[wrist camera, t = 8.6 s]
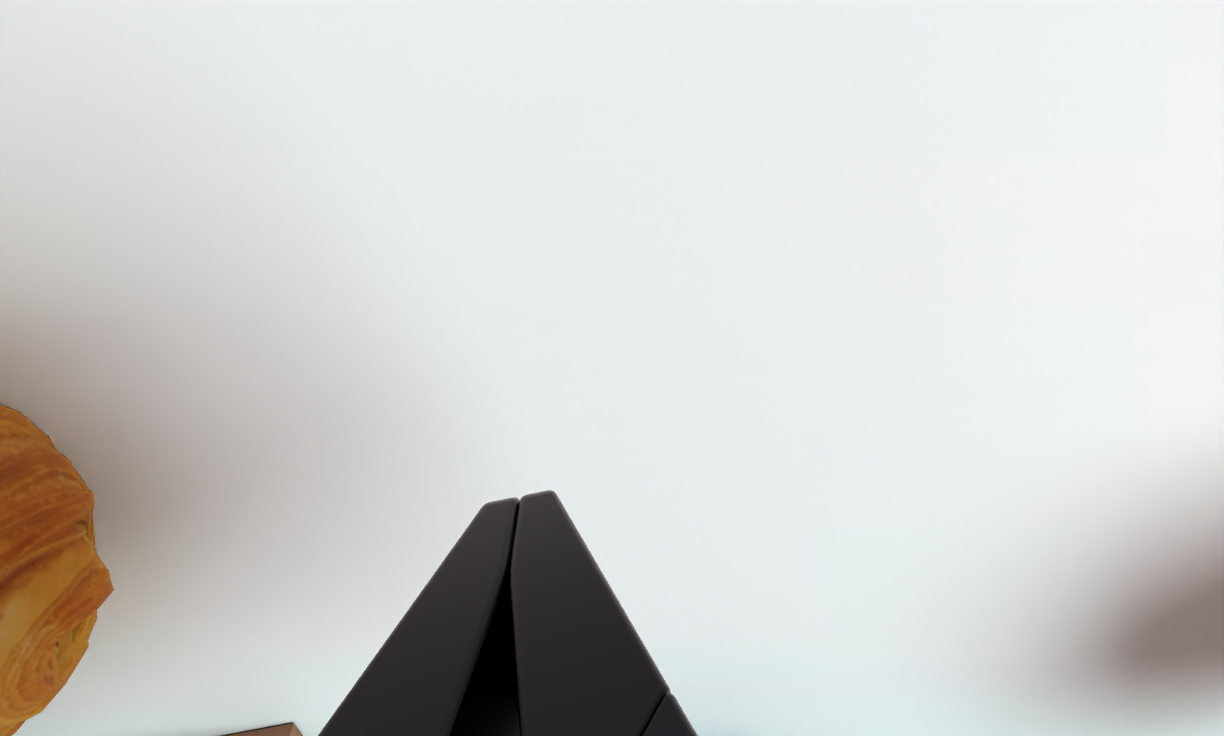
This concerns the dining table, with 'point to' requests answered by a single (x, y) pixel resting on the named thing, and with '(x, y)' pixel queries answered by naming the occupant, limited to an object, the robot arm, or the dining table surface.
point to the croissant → (42, 570)
